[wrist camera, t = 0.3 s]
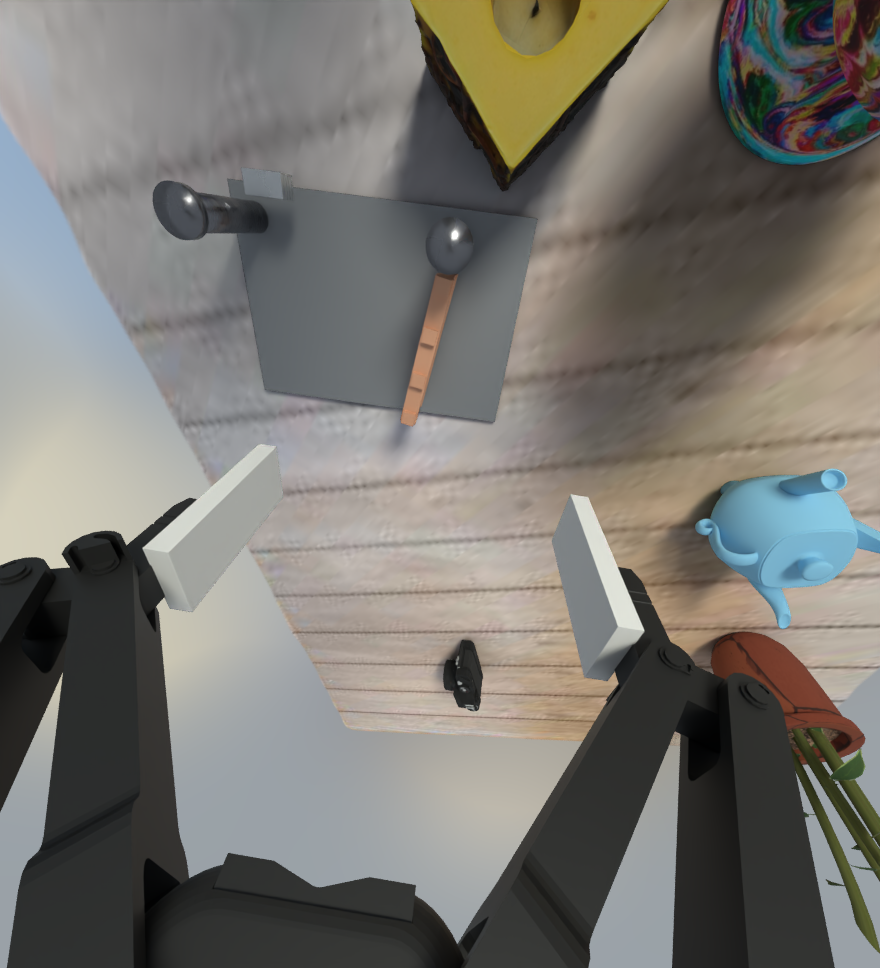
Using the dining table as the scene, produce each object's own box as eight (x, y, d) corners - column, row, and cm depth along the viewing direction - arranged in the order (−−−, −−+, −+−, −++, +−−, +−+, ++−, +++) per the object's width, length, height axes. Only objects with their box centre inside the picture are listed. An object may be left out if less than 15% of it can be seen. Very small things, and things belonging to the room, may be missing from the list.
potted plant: (790, 653, 61) (1066, 1028, 32) (689, 673, 67) (845, 1004, 38) (774, 592, 53) (1113, 1009, 25) (661, 621, 59) (830, 983, 31)
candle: (502, 194, 31) (510, 180, 23) (422, 65, 27) (395, -9, 19) (618, 75, 26) (679, 3, 18) (541, -100, 23) (574, -291, 14)
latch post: (234, 171, 31) (137, 146, 23) (306, 180, 31) (237, 159, 22) (245, 236, 34) (162, 236, 25) (311, 245, 34) (251, 248, 25)
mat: (231, 179, 32) (227, 178, 31) (536, 218, 31) (537, 218, 31) (267, 388, 43) (264, 389, 42) (494, 419, 42) (494, 422, 42)
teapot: (844, 504, 44) (941, 575, 35) (730, 561, 51) (785, 634, 42) (780, 428, 40) (870, 488, 30) (664, 502, 46) (709, 569, 37)
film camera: (442, 630, 68) (423, 688, 62) (480, 640, 64) (463, 702, 58) (461, 655, 77) (445, 707, 71) (495, 665, 73) (482, 720, 67)
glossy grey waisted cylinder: (442, 219, 32) (427, 214, 23) (478, 224, 32) (477, 220, 23) (439, 261, 34) (423, 271, 25) (473, 266, 34) (469, 277, 25)
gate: (442, 268, 33) (435, 275, 28) (458, 274, 33) (453, 281, 28) (410, 397, 41) (399, 422, 35) (423, 401, 41) (414, 426, 35)
